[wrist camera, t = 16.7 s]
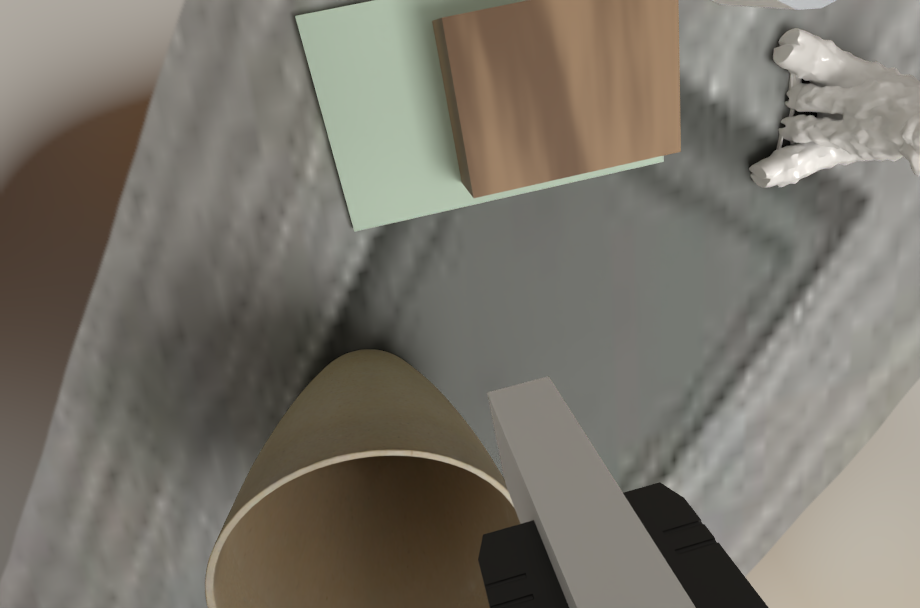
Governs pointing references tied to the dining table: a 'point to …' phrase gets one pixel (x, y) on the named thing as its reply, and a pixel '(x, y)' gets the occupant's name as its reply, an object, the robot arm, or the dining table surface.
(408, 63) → the mat
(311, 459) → the plant pot
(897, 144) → the seated beast figurine
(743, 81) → the dining table surface
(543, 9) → the walnut slab
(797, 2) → the white mug
